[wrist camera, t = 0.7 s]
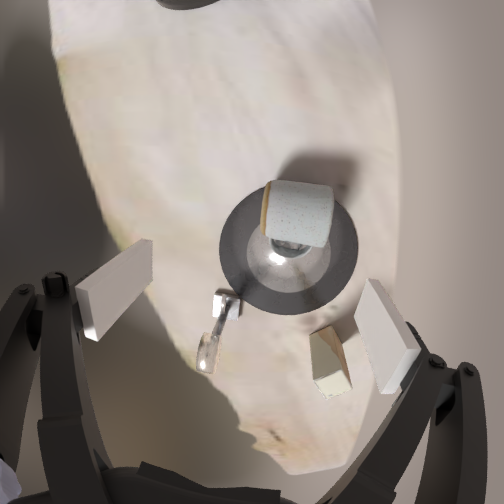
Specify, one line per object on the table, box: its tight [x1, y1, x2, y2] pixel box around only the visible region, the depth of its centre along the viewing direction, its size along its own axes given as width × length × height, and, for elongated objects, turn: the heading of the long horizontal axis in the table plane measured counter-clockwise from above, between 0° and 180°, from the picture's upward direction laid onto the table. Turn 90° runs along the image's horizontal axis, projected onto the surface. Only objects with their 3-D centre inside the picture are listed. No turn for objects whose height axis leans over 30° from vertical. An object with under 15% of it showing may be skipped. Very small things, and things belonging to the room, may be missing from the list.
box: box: [309, 326, 352, 399], centre depth 38 cm, size 5×4×11 cm
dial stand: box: [196, 292, 241, 375], centre depth 35 cm, size 6×4×14 cm, turn 173°
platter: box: [219, 188, 358, 315], centre depth 38 cm, size 20×20×1 cm
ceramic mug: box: [260, 180, 334, 259], centre depth 33 cm, size 11×8×8 cm
